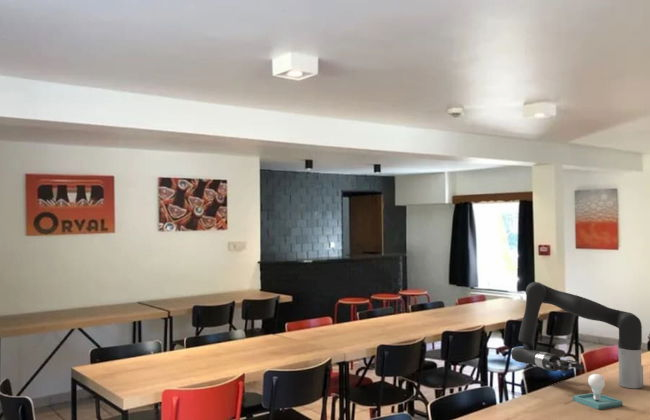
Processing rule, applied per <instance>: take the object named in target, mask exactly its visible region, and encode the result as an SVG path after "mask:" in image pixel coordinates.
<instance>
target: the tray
mask: <svg viewBox="0 0 650 420" xmlns="http://www.w3.org/2000/svg"><path fill="white" fill-rule="evenodd" d="M572 401H573V402H576V403H579V404H582V405H583V406H584V405H585V406H588V407H590V408H592V409H596V410H604V409H612V408H617V407H623V400H621V399H618V398H614V397H612V396H608V395H605V394H602V393H601V394H600V400H599V401H596V400H594V399H593V392H591V393H590V392H589V393H583V394H582V393H581V394H575V395H572Z"/></svg>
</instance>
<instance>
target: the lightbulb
mask: <svg viewBox="0 0 650 420" xmlns="http://www.w3.org/2000/svg"><path fill="white" fill-rule="evenodd" d="M587 383H588V386H589V387H590V388H591V391H592V392H591V393H593V399H594V400H596V401H599V400H600V394H602V391H603V388H604V387H605V385H606V380H605V378H604V376H602V375H601V374H599V373H592V374H591V375H589V376H588V378H587Z"/></svg>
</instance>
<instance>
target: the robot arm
mask: <svg viewBox="0 0 650 420" xmlns="http://www.w3.org/2000/svg"><path fill="white" fill-rule="evenodd" d="M525 296H526V297H525V308H524V314H523V318H522V320H521V324H520V328H519V334H518V341H519V342H520V343H522V344H523V346H516V347H514V348H513V349H512V350H511V352H510V353H511V357H512V359H513V360H514V361H516V362H518V363H523V364H529V365H532V366H536V367H539V368H541V369H543V370H547V371H551V372H557V371H559V372H561V371H562V372H565V373H569V371H570V370H571V369H576V370H579V371H580V370H581V371H584V365H583V364H581V363H580V361H576V360H573V359H567V360H566V359H561V357H560V356H559V355H557V354H553V353H551V352H550V353H549V352H545V351H540V350H535V348H534V347H535V346H534V339H535V335H536V331H537V325H538V324H537V323H538V318H539V317H538V316H539V312H540V310H541V306H542V305H543V303H546V304H549V305H553V306H554V307H557V308H560V309H561V310H563V311H564V312H567V313H569V314H571V315H574V316H577V317H580V318H582V319H587V320H591V321H596V322H601V323H606V324H608V325H611V326H612V327H615V328H618V342H617V343H618V344H617V348H618V354H617V355H618V385H619V386H620V387H623V388H626V389H642V388H643V387H644V366H643V364H642V343H643V342H642V341H643V340H642V339H643V338H642V337H643V335H642V333H643V332H642V331H643V326H642V322H641V320H640V318H639V317H638V316H637V315H635V314H634V313H631V312H628V311H623V310H620V309H616V308H612V307H609V306H606V305H603V304H601V303H599V302H598V301H594V300H591V299H589V298H586V297H582V296H580V295H577V294H573V293H568V292H564V291H561V290H560V291H559V290H557V289H555V288H552V287H549V286H547V285H545V284H543V283H541V282H540V281H539V282H538V281H533V282H530V283H528V285H527V286H526V288H525Z"/></svg>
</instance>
